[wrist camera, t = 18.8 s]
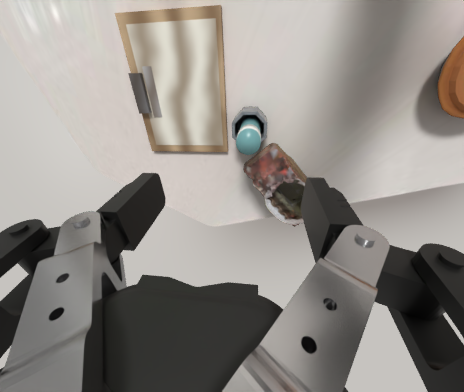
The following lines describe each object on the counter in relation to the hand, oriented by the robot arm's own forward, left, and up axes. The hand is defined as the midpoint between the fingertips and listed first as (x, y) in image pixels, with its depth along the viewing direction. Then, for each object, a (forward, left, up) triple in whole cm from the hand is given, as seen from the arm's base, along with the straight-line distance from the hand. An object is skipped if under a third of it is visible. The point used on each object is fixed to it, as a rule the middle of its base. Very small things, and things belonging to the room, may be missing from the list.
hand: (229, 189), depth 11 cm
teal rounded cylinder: (0, +4, -32) cm, 33 cm away
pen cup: (0, +4, -33) cm, 33 cm away
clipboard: (+14, -2, -33) cm, 36 cm away
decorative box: (-7, +17, -33) cm, 38 cm away
